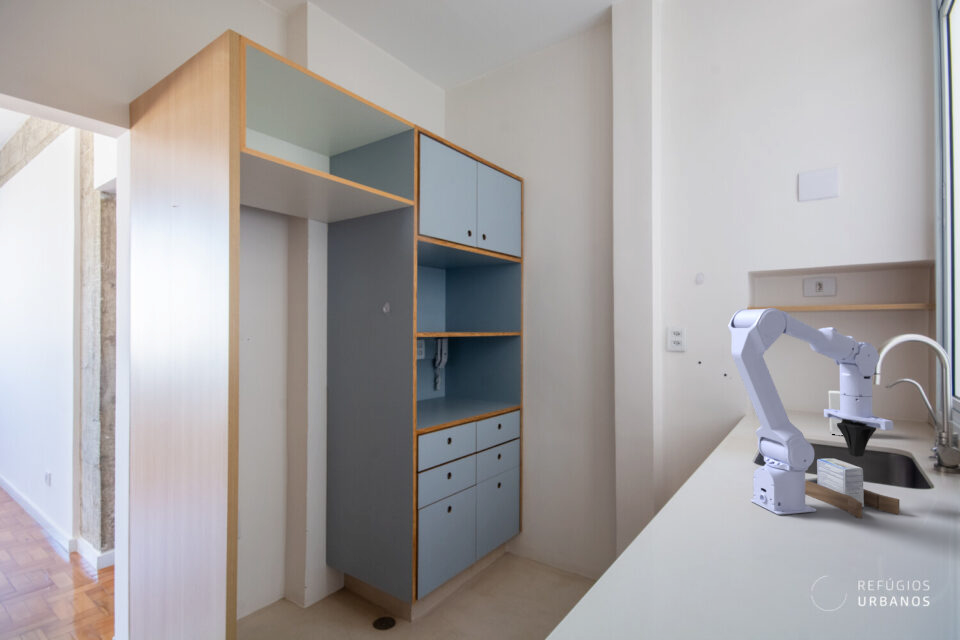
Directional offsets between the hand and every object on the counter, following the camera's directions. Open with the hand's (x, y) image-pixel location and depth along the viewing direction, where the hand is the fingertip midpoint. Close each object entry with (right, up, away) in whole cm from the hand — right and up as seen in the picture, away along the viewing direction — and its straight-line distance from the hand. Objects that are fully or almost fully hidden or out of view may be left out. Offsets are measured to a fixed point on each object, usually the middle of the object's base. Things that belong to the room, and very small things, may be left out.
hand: (856, 455), depth 105 cm
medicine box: (-3, -11, 0) cm, 11 cm away
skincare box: (+46, -11, +63) cm, 79 cm away
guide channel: (-3, -10, 0) cm, 11 cm away
